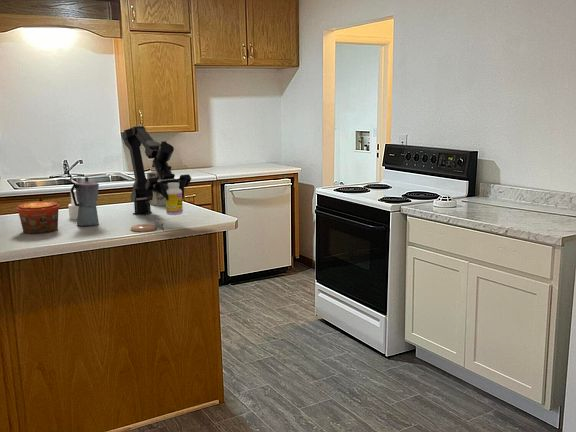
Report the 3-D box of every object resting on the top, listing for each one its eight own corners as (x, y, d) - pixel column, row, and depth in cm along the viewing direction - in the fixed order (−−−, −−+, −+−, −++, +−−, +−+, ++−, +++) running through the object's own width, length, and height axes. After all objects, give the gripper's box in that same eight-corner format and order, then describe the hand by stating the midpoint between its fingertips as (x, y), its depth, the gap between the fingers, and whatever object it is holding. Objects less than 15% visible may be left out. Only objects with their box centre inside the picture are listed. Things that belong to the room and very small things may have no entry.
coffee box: (168, 204, 284) (166, 172, 281) (157, 206, 280) (155, 174, 276) (159, 202, 290) (157, 171, 287) (147, 203, 286) (146, 172, 283)
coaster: (125, 230, 225) (125, 228, 225) (140, 225, 235) (140, 223, 234) (147, 232, 222) (146, 230, 222) (161, 227, 231) (160, 225, 231)
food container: (18, 236, 217) (15, 209, 215) (19, 228, 231) (16, 202, 229) (62, 232, 223) (60, 206, 221) (61, 225, 238) (58, 199, 236)
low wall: (155, 225, 235) (155, 219, 235) (157, 225, 236) (157, 219, 235) (161, 229, 227) (161, 223, 226) (163, 229, 227) (163, 223, 226)
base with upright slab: (94, 217, 253) (92, 190, 251) (75, 220, 247) (73, 193, 245) (84, 214, 259) (82, 188, 257) (65, 217, 253) (63, 191, 251)
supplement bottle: (179, 215, 229) (177, 184, 226) (163, 215, 230) (162, 184, 228) (185, 212, 235) (184, 182, 233) (170, 212, 237) (169, 181, 234)
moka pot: (108, 221, 243) (105, 175, 239) (85, 229, 229) (81, 180, 225) (90, 220, 246) (86, 175, 242) (65, 227, 232) (61, 179, 228)
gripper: (177, 179, 248) (190, 207, 242) (136, 182, 237) (149, 212, 231) (185, 162, 240) (198, 191, 234) (143, 165, 229) (156, 196, 223)
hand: (175, 198), depth 230 cm, fingers closed on supplement bottle, 7 cm apart
